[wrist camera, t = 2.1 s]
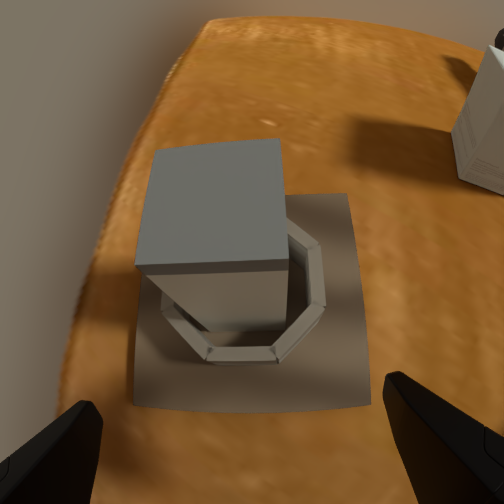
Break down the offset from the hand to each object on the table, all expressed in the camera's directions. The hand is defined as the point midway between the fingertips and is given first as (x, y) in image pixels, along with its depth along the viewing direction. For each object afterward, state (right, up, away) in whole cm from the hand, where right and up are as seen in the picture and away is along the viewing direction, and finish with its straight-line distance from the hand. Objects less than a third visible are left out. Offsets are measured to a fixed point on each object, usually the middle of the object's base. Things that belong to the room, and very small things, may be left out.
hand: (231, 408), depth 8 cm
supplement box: (+25, +14, +18) cm, 34 cm away
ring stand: (0, +1, +15) cm, 15 cm away
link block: (0, +2, +14) cm, 14 cm away
